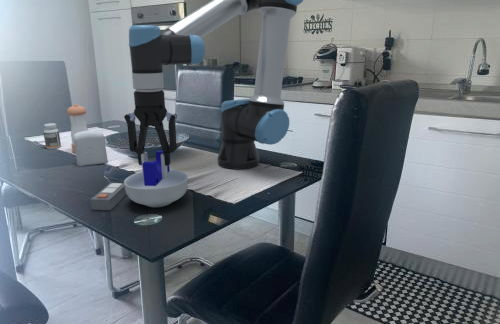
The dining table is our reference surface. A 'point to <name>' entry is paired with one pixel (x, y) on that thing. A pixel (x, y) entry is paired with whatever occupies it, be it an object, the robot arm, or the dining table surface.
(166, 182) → the cereal bowl
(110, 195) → the power strip
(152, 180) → the blue bridge block
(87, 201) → the dining table surface
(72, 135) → the pepper shaker
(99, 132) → the photo printer
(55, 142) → the pill bottle
